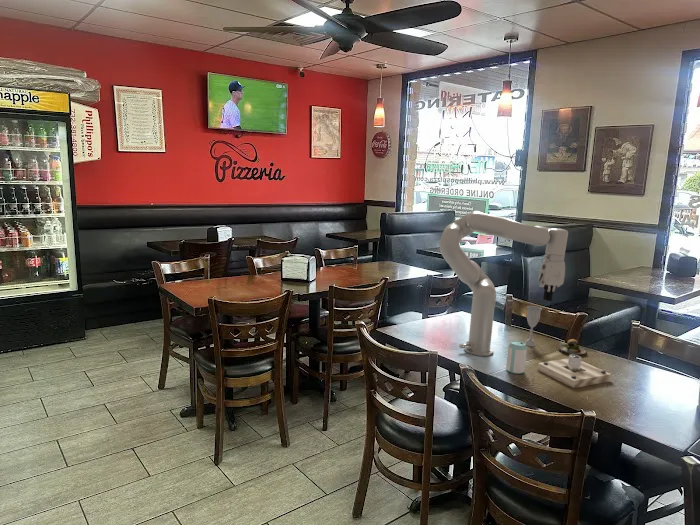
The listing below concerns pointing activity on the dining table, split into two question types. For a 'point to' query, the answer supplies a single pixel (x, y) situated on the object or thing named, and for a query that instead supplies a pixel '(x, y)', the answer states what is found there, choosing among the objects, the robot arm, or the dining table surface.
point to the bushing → (574, 363)
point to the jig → (574, 373)
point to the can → (516, 357)
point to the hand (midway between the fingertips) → (547, 300)
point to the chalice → (532, 321)
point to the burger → (572, 348)
